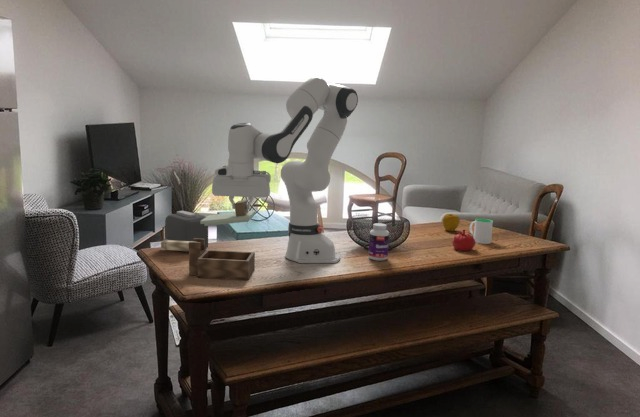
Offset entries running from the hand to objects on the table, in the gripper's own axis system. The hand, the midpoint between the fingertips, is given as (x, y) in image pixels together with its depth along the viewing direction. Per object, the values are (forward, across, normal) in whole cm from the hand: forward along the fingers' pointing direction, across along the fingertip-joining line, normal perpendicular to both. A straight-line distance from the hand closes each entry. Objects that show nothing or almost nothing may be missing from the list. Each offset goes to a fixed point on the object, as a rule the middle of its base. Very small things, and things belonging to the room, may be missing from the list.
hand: (241, 208), depth 190 cm
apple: (+26, -90, -90) cm, 130 cm away
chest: (+24, +7, 0) cm, 25 cm away
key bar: (+16, +23, 0) cm, 28 cm away
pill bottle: (+25, -51, -30) cm, 64 cm away
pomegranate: (+26, -90, -52) cm, 107 cm away
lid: (+4, +4, 0) cm, 6 cm away
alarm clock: (+24, +30, -31) cm, 50 cm away
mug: (+26, -100, -70) cm, 125 cm away
